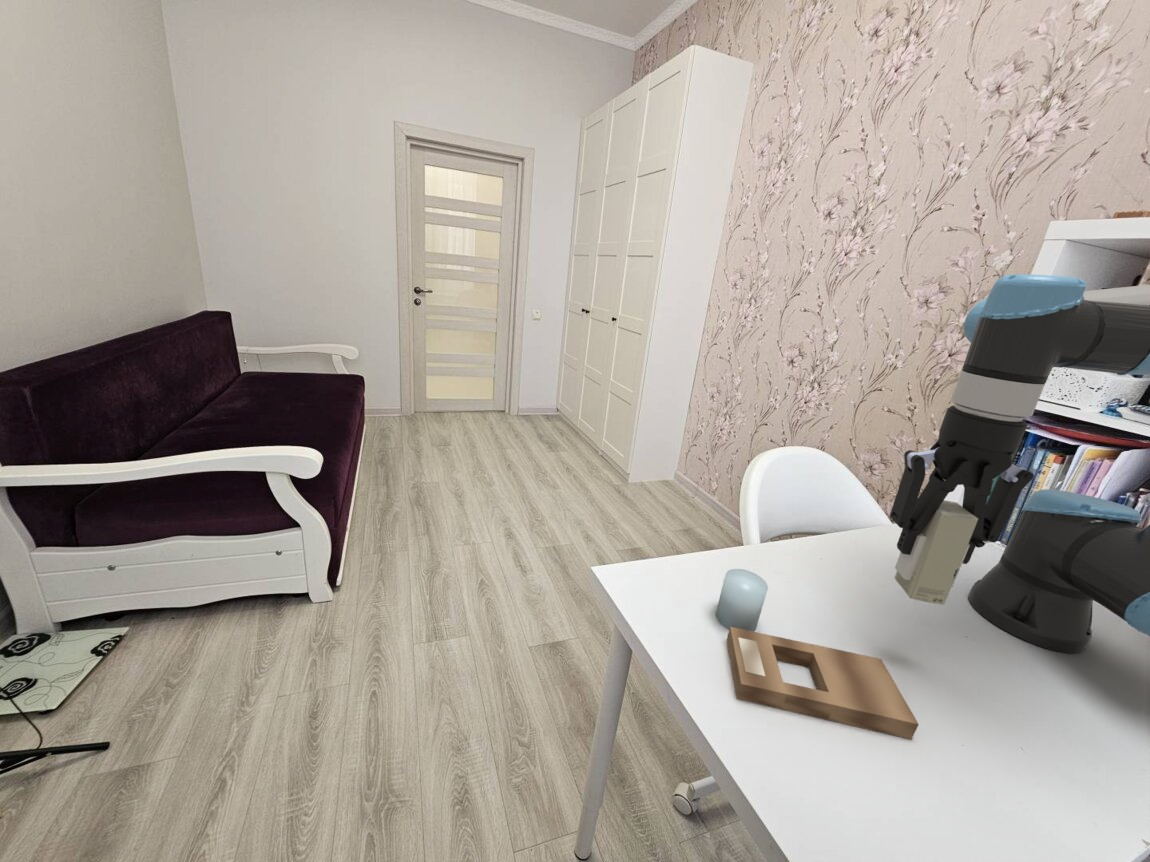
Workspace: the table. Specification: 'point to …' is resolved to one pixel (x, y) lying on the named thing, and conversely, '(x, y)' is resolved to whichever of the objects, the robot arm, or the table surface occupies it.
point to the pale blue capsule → (741, 600)
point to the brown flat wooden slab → (819, 683)
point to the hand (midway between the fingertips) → (922, 577)
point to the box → (940, 554)
